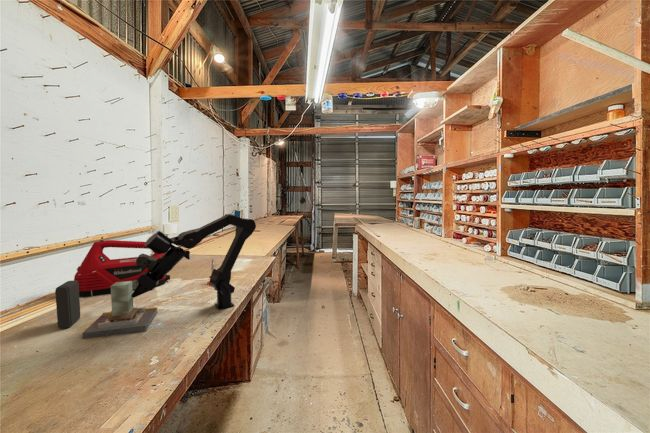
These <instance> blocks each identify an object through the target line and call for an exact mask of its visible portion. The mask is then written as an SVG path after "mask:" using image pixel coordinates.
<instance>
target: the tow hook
mask: <svg viewBox="0 0 650 433" xmlns="http://www.w3.org/2000/svg"><path fill="white" fill-rule="evenodd" d="M213 269H215V261H214V259H211V274H212V272H213ZM211 274H210V275H211ZM206 285H207V286H208V285H210V282H209V281H207V282H206Z"/></svg>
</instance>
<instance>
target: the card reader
mask: <svg viewBox="0 0 650 433" xmlns="http://www.w3.org/2000/svg"><path fill="white" fill-rule="evenodd" d="M54 295H55V307H56V320H57V327H58V329H60V330H61V329H68V328H71V327H72V326H73V325H74V324H76V323H77V322H78V320H79V319H80V318H81V302H80V301H81V300H80V297H79V283H78V281H76V280H74V279H73V280H67V281H66V282H64V283H62V284H60V285H59V286H57V287H55V294H54Z"/></svg>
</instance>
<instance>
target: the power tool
mask: <svg viewBox="0 0 650 433" xmlns="http://www.w3.org/2000/svg"><path fill="white" fill-rule="evenodd" d="M145 243H146V241H136V240H113V239H108V240H106V239H105V240H104V239H100V240H99V241H94V242H93V244H92V246H91V247H90V249H89V251H88V252H87V254H86V255H85V257H84V259H83V261H82V262H81V263H80V266H79V265H78V267H77V268H76V272H75V274H74V279H73V281H74V280H76V281H78V283H79V298H80V297H81V298H90V297H98V296H105V295H111V286H112V285H113V284H114V283H116V282H125V281H132V288H133V292H134V290H135V289H136V287H137V286H138V281H137V278H139V277H140V276H141V275H142V274H143V273H144V272H148V270H147V269H148V268H147V267H144V266H141V265H136V264H135V263H136V259H137V258H138V256H134V257H133V256H132V257H124V258H115V259H110V258H109V257H108V256H107V254H105V253H104V249H105V248H106V249H107V248H117V249H119V248H121V249H147V250H150V249H149V248H148V247H146V246H145ZM152 252H153V254H152V255H151V256H152V257H154V258H157V259H159V258H160V257H162V256H163V255H164V254H165V253H164V254H163V253H161V254H157V253H156V252H154V251H152ZM170 280H171V276H170V274H166V275H165V276H164V277H163V278H162V279H161V280H159V284H158V285H157V286H156V287H155V288H158V287H161V286H163V285H165V284H166V282H168V281H170Z"/></svg>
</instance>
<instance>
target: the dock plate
mask: <svg viewBox="0 0 650 433" xmlns="http://www.w3.org/2000/svg"><path fill="white" fill-rule="evenodd" d="M137 308H138V311H137V312H136V314H135V315H134V316H133V317H132V318H131V320H127V319H121V320H114V322H110V321H108V317H109V316H110V315H111V314H112V310H111V311H106V312H105V311H104V312H103V313H102V314H101V315H100V316H99V317H98V318H97V319H95V321H93V323H91V324H90V325H89V326H88V327H86V329H85V330H84V331H83V332H82V333H81V334H82V340H85V339H93V338H101V337H102V338H103V337H107V336H108V337H110V336H111V337H112V336H116V335H117V336H118V335H124V334H126V335H127V334H135V333H143V332H146V331H147V330H148V328H149V327H150V325H151V324H152V323H153V321H154V319H155V317H156V316H157V314H158V307H157V306H156V307H155V306H154V307H149V308H148V307H147V308H146V307H145V306H144V307H137ZM152 320H153V321H152Z"/></svg>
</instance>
